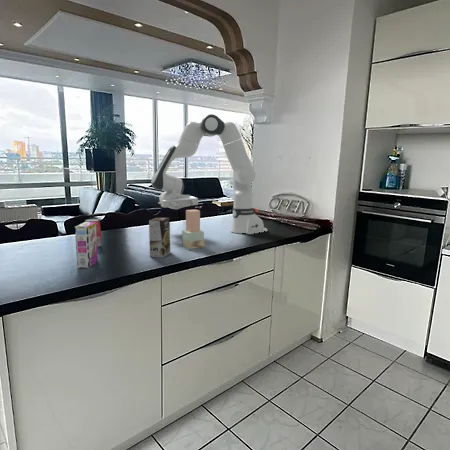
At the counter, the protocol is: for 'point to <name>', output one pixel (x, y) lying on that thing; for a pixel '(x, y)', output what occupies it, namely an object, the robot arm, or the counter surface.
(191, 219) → the coral block
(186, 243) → the oak slab
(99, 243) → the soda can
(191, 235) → the sage slab
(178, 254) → the counter surface
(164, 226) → the coffee box
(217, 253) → the counter surface
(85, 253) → the candy bar box
